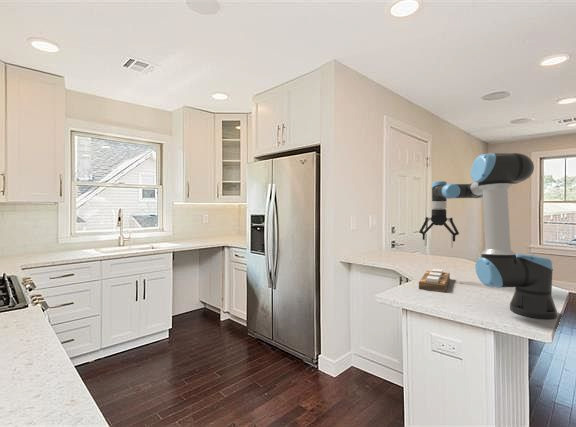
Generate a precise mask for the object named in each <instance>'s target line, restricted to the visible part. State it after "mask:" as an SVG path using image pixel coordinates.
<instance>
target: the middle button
mask: <svg viewBox="0 0 576 427" xmlns="http://www.w3.org/2000/svg"><path fill="white" fill-rule="evenodd" d="M429 276H434V277H439V279H441V273H434V272H430V274H429Z"/></svg>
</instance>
